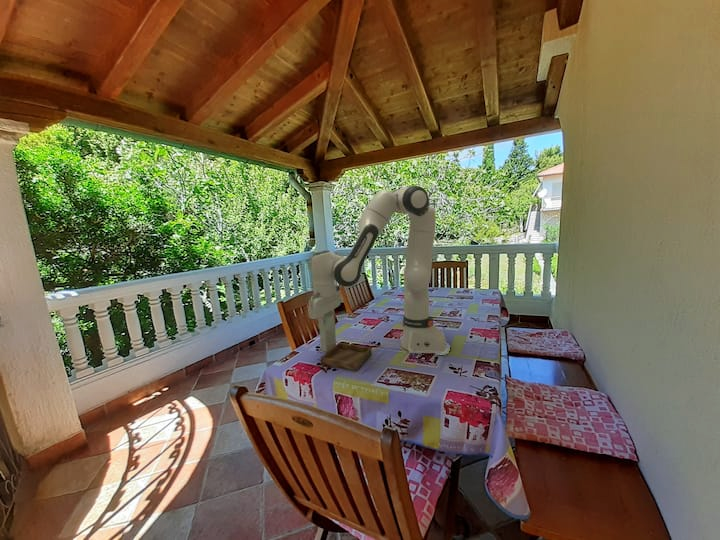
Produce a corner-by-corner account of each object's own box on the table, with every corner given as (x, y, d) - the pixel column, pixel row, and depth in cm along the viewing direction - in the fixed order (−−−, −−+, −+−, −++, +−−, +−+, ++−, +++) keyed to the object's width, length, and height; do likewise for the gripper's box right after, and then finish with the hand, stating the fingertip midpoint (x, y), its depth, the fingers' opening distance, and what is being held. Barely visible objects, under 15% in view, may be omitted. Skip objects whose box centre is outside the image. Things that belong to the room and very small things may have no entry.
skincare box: (330, 345, 136) (329, 321, 134) (336, 348, 133) (335, 323, 131) (320, 350, 132) (319, 325, 130) (326, 352, 129) (324, 327, 127)
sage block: (334, 325, 122) (334, 314, 122) (328, 329, 118) (328, 318, 117) (324, 324, 124) (324, 313, 124) (318, 328, 120) (317, 317, 119)
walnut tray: (371, 354, 126) (371, 347, 126) (356, 371, 112) (356, 364, 111) (339, 348, 133) (339, 342, 132) (321, 364, 118) (320, 357, 118)
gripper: (316, 297, 108) (319, 332, 110) (342, 285, 126) (344, 315, 129) (302, 296, 111) (305, 330, 113) (329, 284, 129) (332, 314, 131)
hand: (326, 322), depth 121 cm, fingers closed on sage block, 5 cm apart
